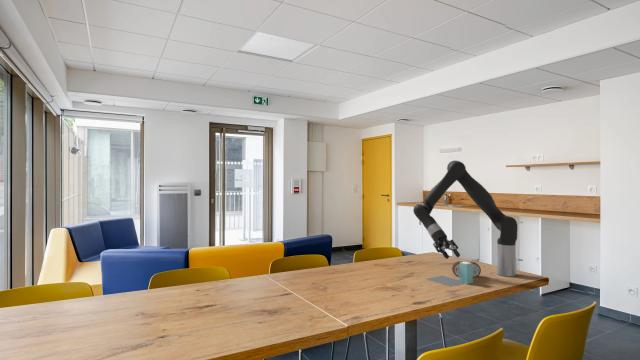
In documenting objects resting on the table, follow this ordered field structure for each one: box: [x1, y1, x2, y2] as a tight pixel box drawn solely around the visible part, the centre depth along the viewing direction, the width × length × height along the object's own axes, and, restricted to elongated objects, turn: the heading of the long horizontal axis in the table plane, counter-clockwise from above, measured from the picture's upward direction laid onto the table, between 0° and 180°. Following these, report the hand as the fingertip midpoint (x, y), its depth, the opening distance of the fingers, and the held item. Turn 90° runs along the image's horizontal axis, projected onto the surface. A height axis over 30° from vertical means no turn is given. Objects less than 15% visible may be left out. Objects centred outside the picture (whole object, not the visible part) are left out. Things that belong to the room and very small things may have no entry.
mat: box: [425, 275, 464, 287], centre depth 191 cm, size 14×17×1 cm
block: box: [458, 261, 474, 285], centre depth 188 cm, size 4×4×10 cm
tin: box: [451, 261, 482, 278], centre depth 201 cm, size 15×3×8 cm, turn 84°
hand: (453, 257), depth 194 cm, fingers open, 8 cm apart
